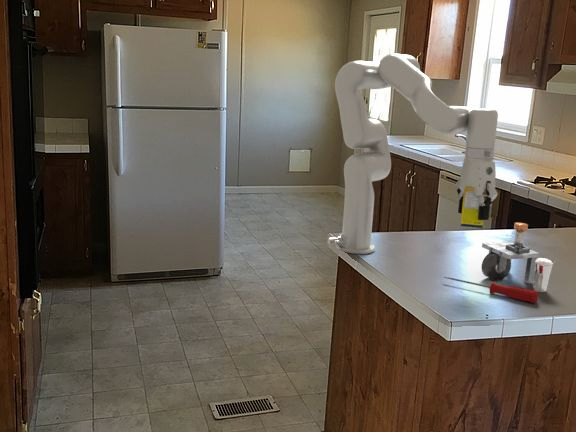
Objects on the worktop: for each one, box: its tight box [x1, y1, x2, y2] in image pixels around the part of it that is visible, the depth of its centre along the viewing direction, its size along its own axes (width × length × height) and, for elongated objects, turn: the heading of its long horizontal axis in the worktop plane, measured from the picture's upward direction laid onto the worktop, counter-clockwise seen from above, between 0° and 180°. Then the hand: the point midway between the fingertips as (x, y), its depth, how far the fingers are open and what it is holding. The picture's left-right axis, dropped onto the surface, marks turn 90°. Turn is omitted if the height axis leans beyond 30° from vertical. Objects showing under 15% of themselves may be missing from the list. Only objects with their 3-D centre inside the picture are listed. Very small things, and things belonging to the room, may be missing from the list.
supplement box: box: [460, 187, 486, 229], centre depth 168 cm, size 6×6×11 cm
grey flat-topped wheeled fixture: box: [481, 241, 539, 285], centre depth 174 cm, size 13×12×10 cm
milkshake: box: [532, 257, 556, 293], centre depth 166 cm, size 4×5×10 cm
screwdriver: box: [443, 276, 539, 304], centre depth 163 cm, size 4×25×4 cm, turn 59°
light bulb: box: [513, 222, 529, 249], centre depth 171 cm, size 4×4×7 cm
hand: (472, 216), depth 168 cm, fingers closed on supplement box, 8 cm apart
